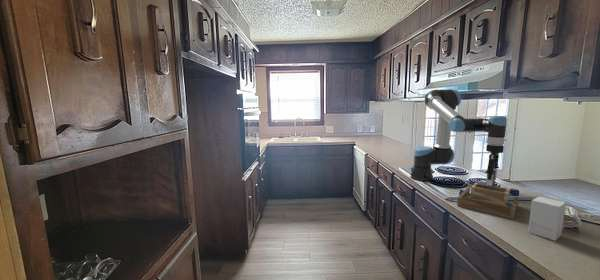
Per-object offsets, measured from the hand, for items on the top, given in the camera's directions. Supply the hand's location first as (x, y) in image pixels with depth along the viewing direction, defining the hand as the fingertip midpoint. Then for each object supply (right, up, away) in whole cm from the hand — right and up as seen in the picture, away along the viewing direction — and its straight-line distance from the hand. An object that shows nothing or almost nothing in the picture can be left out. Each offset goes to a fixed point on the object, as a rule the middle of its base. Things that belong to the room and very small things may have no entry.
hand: (491, 182), depth 142 cm
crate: (0, -10, +2) cm, 10 cm away
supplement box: (0, -17, -31) cm, 35 cm away
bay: (-3, -13, -2) cm, 13 cm away
